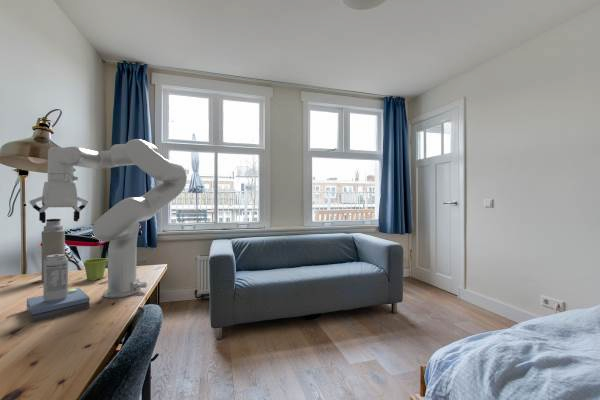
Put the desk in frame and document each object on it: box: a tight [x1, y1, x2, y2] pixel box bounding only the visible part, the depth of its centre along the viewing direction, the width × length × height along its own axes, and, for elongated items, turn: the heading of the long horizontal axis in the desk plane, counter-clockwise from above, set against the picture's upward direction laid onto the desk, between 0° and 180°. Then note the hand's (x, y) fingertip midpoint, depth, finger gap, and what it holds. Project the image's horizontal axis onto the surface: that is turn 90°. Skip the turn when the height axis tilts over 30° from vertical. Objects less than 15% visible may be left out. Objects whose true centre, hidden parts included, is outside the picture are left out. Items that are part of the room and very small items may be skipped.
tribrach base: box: [26, 301, 90, 323], centre depth 90 cm, size 14×14×2 cm
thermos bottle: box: [41, 218, 66, 282], centre depth 123 cm, size 8×8×28 cm
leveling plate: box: [26, 288, 91, 315], centre depth 90 cm, size 14×14×2 cm
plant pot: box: [82, 257, 108, 281], centre depth 124 cm, size 9×9×9 cm
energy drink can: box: [42, 253, 69, 303], centre depth 89 cm, size 6×6×15 cm
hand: (60, 221), depth 104 cm, fingers open, 9 cm apart
